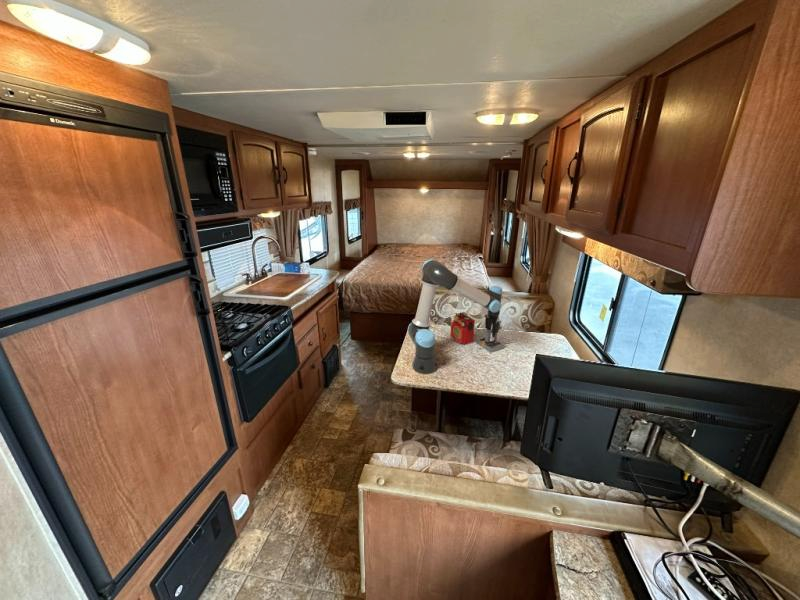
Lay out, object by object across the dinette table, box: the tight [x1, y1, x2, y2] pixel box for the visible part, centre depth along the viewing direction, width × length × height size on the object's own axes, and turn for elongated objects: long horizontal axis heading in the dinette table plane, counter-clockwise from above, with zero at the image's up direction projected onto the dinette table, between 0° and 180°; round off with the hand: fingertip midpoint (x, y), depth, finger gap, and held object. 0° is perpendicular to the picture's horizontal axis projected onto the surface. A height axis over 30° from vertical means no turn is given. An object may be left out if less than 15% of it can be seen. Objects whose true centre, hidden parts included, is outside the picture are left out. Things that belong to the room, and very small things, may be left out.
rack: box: [475, 336, 505, 354], centre depth 214 cm, size 12×15×4 cm
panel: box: [484, 328, 498, 342], centre depth 211 cm, size 8×2×8 cm, turn 118°
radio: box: [450, 311, 476, 345], centre depth 218 cm, size 16×10×20 cm, turn 28°
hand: (490, 339), depth 213 cm, fingers closed on panel, 2 cm apart
